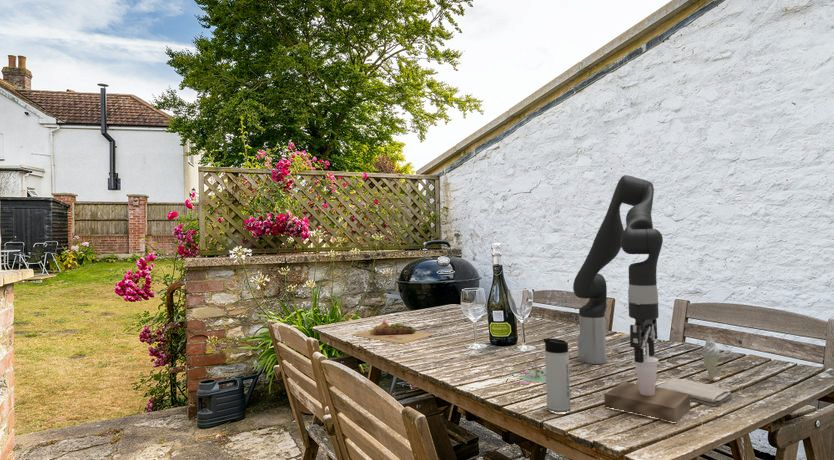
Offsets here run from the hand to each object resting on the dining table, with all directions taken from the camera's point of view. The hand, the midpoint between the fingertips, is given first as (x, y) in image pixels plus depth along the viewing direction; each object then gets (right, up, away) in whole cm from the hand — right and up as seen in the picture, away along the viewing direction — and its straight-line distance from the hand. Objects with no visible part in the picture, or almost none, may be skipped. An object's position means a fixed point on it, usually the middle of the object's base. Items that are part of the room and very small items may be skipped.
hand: (644, 358), depth 134 cm
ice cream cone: (+33, -13, +23) cm, 42 cm away
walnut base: (+1, -14, 0) cm, 14 cm away
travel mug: (-24, -15, 0) cm, 28 cm away
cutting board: (-76, -18, +106) cm, 132 cm away
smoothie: (+1, -10, 0) cm, 10 cm away
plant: (-25, -16, +26) cm, 40 cm away
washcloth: (+19, -14, +10) cm, 25 cm away
